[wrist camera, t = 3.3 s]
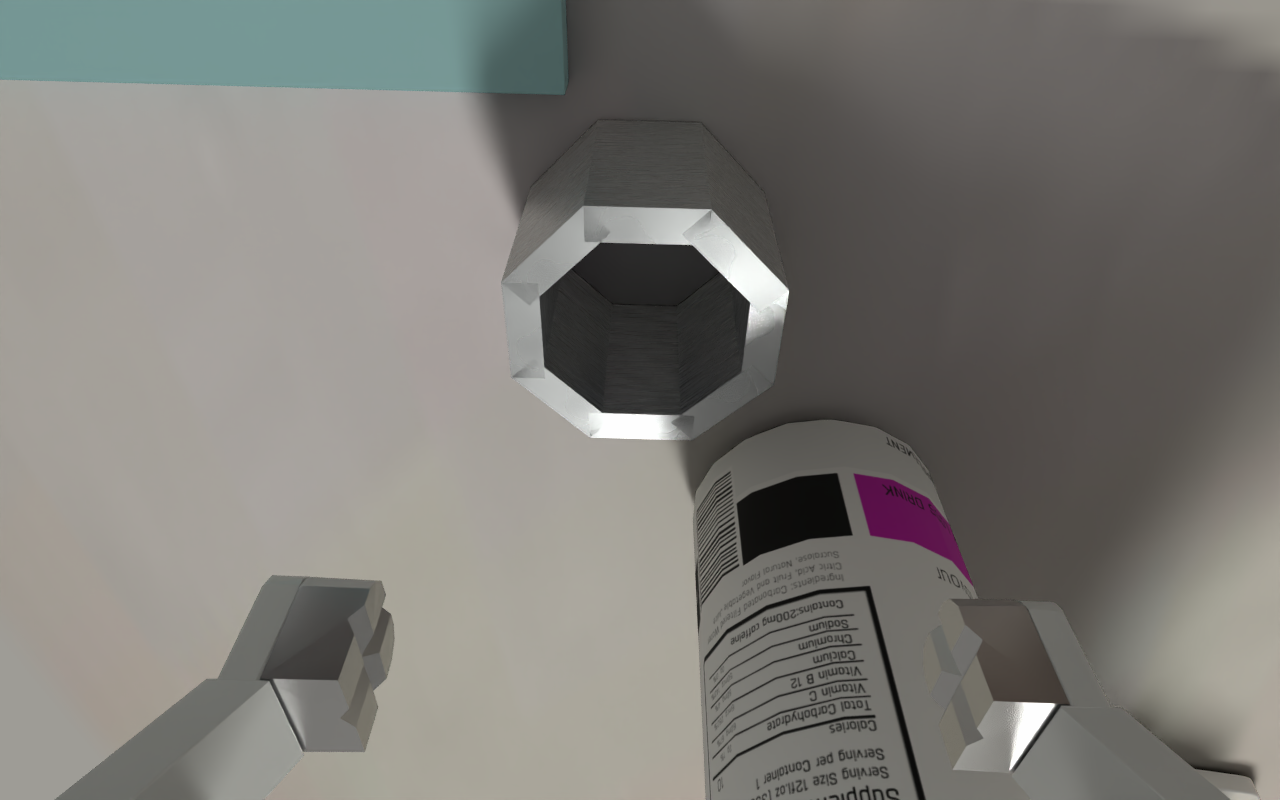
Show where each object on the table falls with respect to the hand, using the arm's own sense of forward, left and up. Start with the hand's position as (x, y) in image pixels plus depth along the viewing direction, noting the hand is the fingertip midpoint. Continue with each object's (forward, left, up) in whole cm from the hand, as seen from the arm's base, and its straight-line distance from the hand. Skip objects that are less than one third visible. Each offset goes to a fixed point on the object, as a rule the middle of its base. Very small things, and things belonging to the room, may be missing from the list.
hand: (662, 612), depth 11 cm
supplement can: (-6, +10, -13) cm, 17 cm away
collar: (0, 0, -13) cm, 13 cm away
